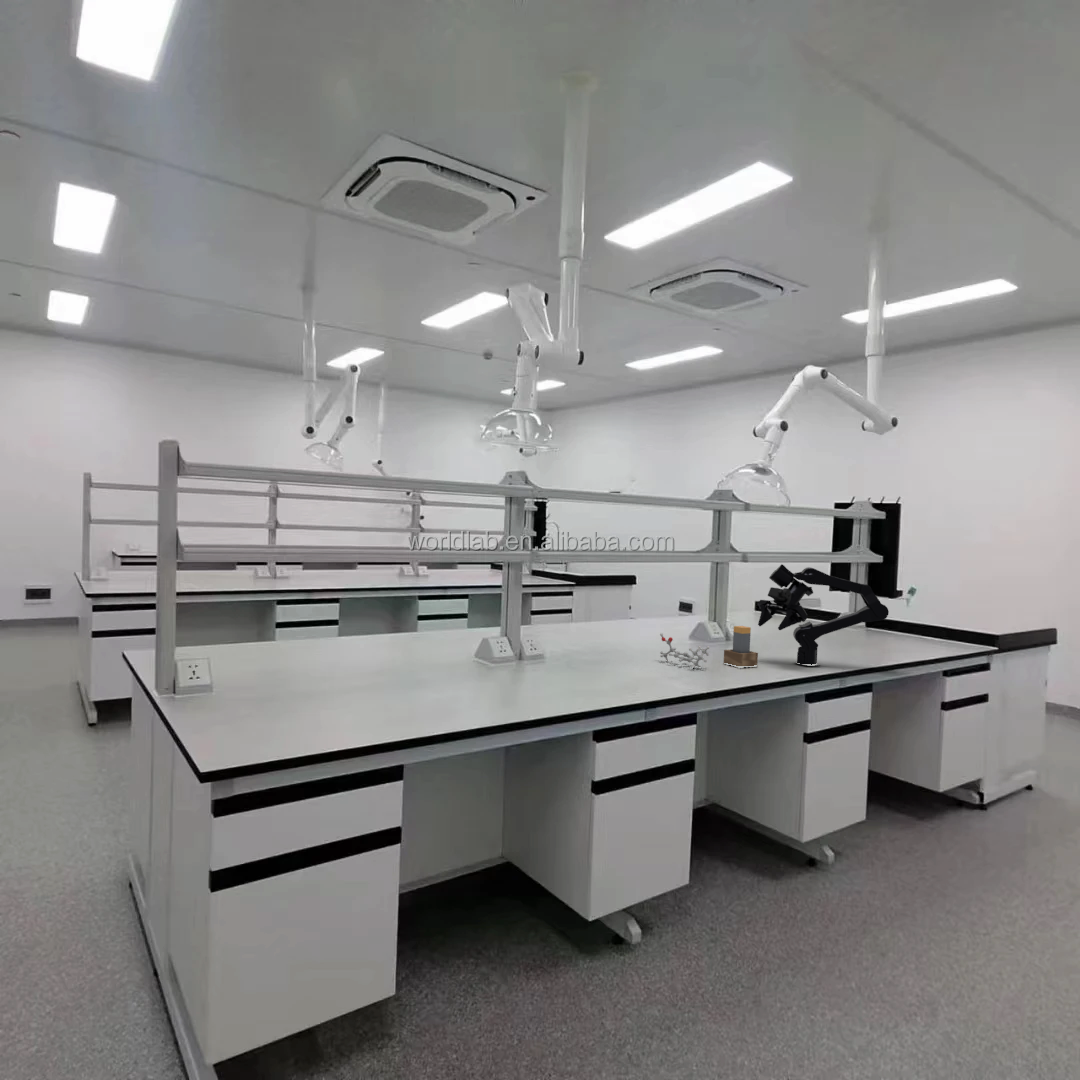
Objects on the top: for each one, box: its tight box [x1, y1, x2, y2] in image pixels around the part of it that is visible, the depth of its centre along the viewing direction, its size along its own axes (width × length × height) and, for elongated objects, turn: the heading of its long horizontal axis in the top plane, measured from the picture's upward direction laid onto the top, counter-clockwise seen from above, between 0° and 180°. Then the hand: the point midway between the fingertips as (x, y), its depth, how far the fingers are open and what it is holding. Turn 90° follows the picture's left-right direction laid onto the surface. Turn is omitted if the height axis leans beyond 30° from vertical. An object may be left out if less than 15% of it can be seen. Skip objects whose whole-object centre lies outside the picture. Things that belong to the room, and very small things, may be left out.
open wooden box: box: [723, 648, 759, 666], centre depth 238 cm, size 8×8×5 cm
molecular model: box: [659, 632, 710, 668], centre depth 234 cm, size 19×10×10 cm, turn 31°
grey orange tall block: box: [732, 625, 752, 653], centre depth 238 cm, size 4×4×13 cm
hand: (768, 627), depth 240 cm, fingers open, 9 cm apart
